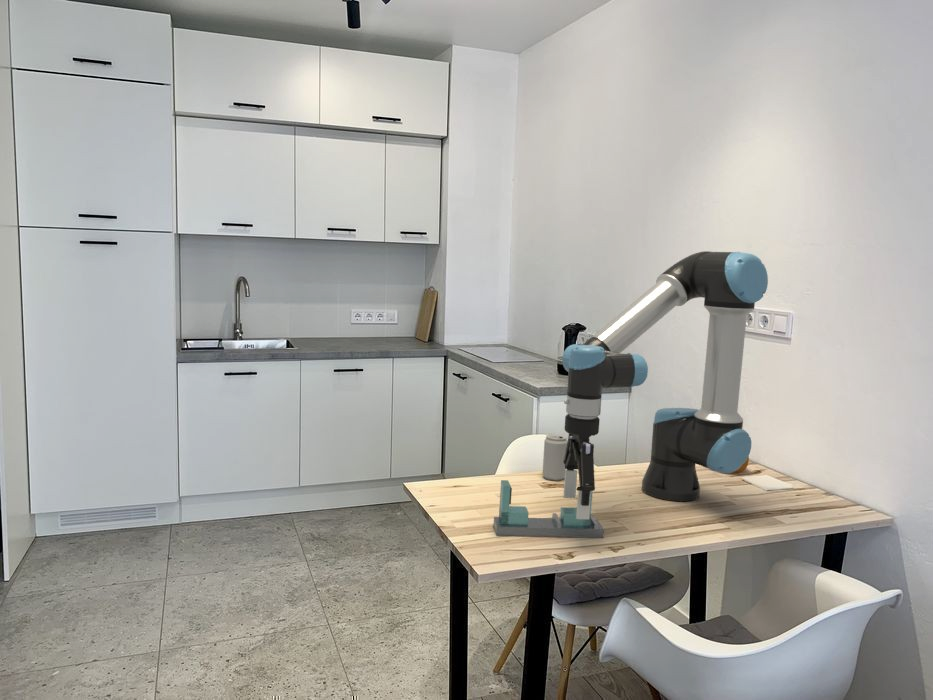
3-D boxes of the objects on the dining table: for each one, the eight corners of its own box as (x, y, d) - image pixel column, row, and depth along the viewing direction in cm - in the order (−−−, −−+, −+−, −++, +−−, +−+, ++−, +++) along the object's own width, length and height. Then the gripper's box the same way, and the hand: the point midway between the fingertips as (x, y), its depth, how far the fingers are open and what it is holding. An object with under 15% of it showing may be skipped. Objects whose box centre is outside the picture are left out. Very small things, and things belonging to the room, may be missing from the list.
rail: (596, 527, 167) (600, 481, 166) (603, 537, 162) (607, 490, 160) (493, 525, 166) (496, 478, 164) (496, 535, 160) (499, 487, 158)
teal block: (585, 520, 166) (588, 482, 165) (589, 527, 162) (592, 488, 161) (559, 520, 166) (562, 481, 164) (563, 526, 162) (566, 487, 160)
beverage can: (564, 482, 200) (567, 440, 198) (541, 480, 201) (543, 437, 200) (565, 475, 206) (568, 434, 205) (543, 473, 208) (546, 432, 206)
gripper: (555, 403, 173) (549, 489, 175) (578, 428, 148) (571, 528, 151) (586, 404, 173) (579, 490, 176) (614, 429, 148) (606, 529, 151)
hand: (575, 507), depth 163 cm, fingers open, 13 cm apart
